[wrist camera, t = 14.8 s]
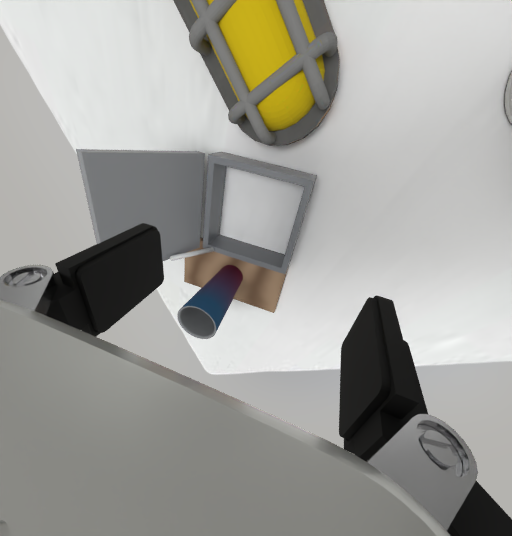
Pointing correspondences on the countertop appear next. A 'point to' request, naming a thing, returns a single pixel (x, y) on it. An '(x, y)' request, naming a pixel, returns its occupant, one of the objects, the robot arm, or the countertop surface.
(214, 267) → the walnut board
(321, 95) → the cage light
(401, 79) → the countertop surface
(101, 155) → the case lid
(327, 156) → the countertop surface
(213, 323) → the cup
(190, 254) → the equipment case
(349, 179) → the countertop surface
